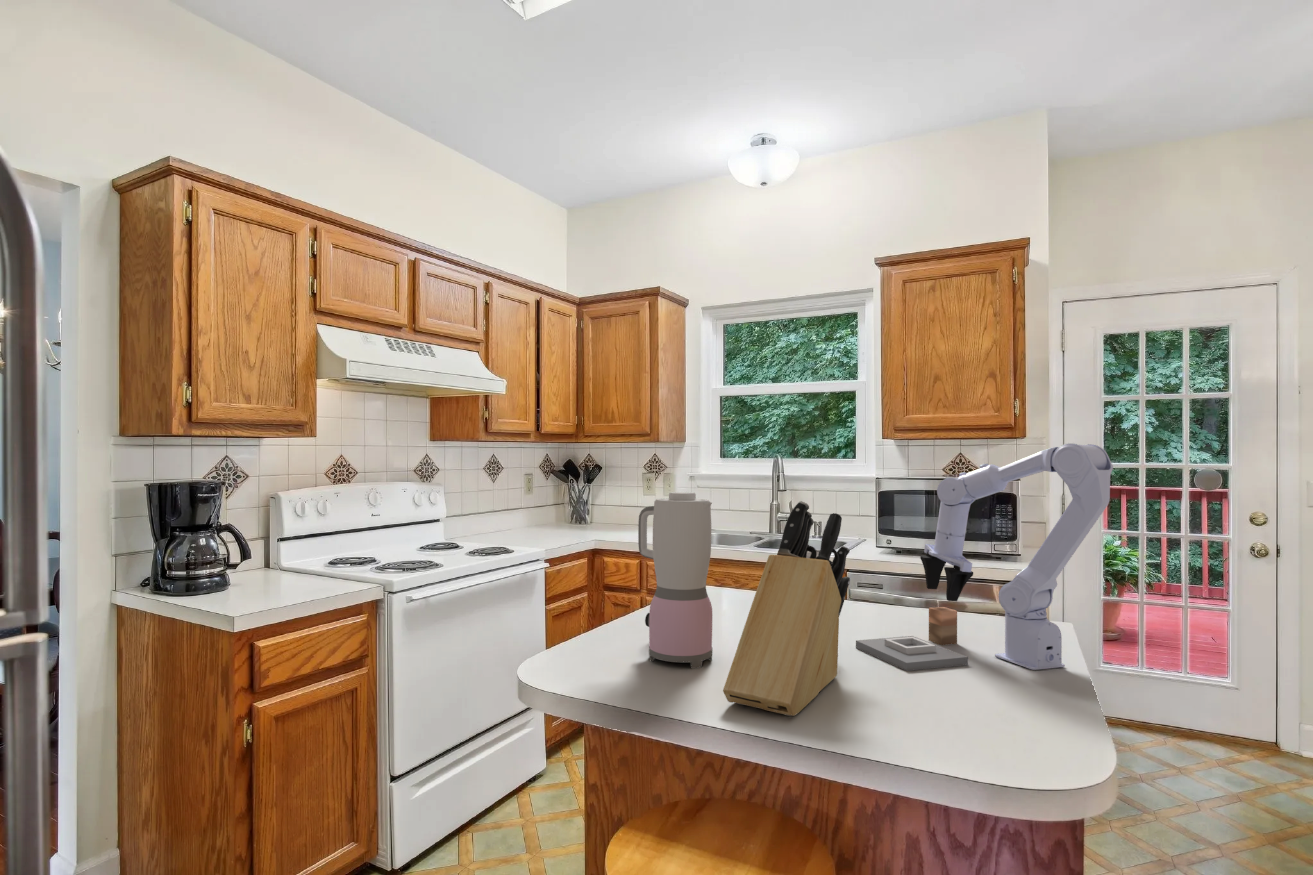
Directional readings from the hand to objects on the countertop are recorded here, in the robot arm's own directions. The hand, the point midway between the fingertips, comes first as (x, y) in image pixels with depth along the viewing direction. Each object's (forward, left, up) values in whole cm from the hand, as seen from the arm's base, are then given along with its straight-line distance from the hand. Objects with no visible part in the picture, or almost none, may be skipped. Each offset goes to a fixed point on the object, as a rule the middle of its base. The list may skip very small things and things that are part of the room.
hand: (941, 594), depth 149 cm
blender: (+3, +60, -10) cm, 61 cm away
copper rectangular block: (-1, 0, -10) cm, 10 cm away
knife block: (-17, +45, -10) cm, 50 cm away
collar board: (-8, +14, -10) cm, 19 cm away
